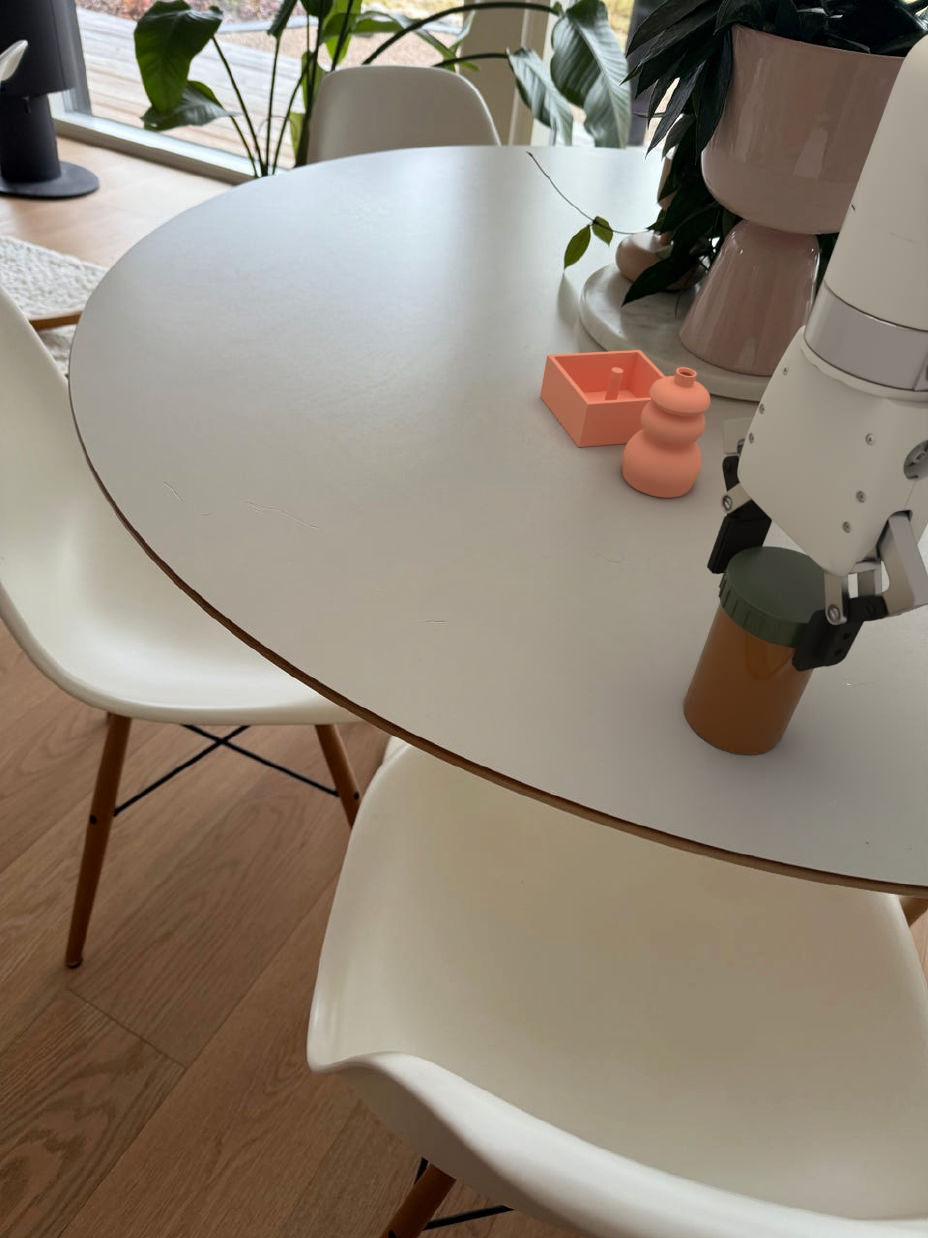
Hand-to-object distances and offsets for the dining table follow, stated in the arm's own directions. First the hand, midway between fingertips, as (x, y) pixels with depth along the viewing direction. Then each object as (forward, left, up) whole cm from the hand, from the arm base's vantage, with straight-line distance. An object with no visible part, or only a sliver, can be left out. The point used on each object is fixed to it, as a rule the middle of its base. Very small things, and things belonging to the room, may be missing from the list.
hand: (770, 612), depth 59 cm
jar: (0, 0, -9) cm, 8 cm away
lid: (0, 0, +2) cm, 2 cm away
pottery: (+18, -28, -9) cm, 34 cm away
